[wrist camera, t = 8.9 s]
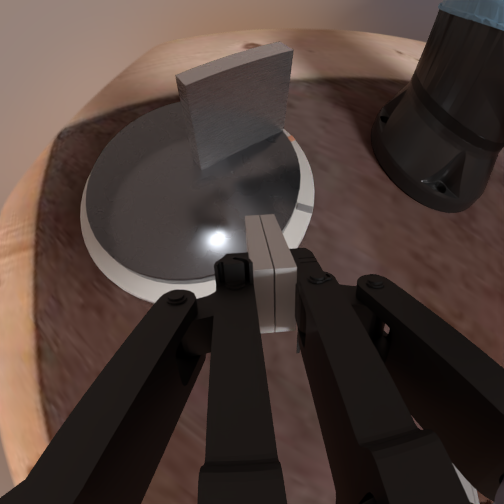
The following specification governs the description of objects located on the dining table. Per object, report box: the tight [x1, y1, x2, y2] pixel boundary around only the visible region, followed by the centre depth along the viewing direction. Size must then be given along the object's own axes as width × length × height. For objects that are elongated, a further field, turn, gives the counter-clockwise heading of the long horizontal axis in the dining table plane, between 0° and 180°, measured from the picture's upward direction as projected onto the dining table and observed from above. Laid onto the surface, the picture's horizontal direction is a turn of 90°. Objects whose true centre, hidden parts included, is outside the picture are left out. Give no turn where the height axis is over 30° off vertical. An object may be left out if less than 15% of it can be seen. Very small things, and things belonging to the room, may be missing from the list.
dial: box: [86, 41, 301, 284], centre depth 21 cm, size 19×19×10 cm
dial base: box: [80, 129, 315, 304], centre depth 27 cm, size 22×22×1 cm
